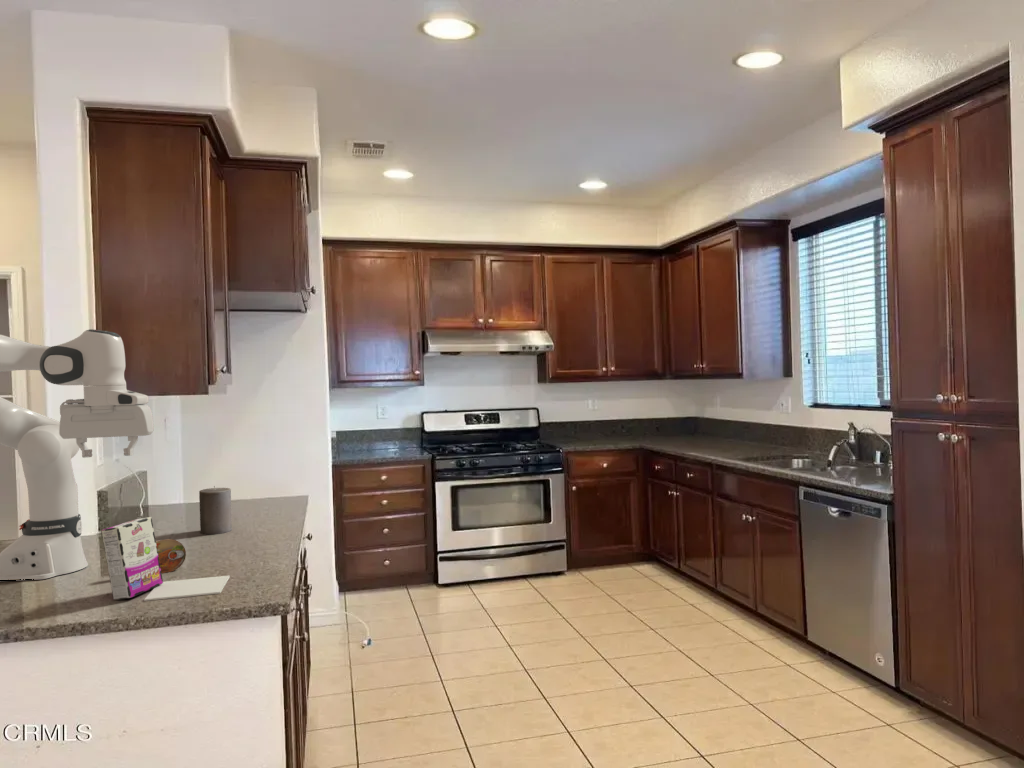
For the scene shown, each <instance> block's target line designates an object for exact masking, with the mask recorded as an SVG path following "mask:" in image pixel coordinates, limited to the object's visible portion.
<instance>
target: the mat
mask: <svg viewBox="0 0 1024 768" xmlns="http://www.w3.org/2000/svg"><path fill="white" fill-rule="evenodd" d="M230 577H231V575H229V574H228V575H222V576H221V575H220V576H209V577H198V578H188V579H177V580H167V581H163V583H162V584H161V585H158V586H156V587H154V588H152V589H151V591H150V592H149V593H148V594H147V595H146V596H145V598H144V599H143V602H147V601H158V600H159V601H161V600H167V599H179V598H187V597H190V598H191V597H198V596H200V597H201V596H207V595H217V594H218V595H219V594H221V593H222V591H223V590H224V588H225V586H226V585H227V583H228V580H229V579H230Z"/></svg>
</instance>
